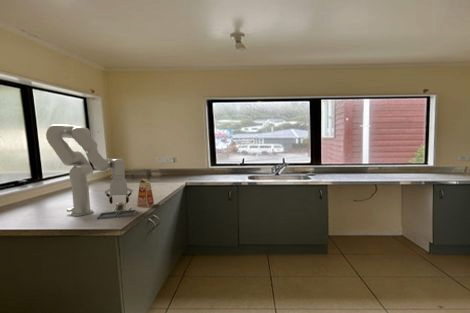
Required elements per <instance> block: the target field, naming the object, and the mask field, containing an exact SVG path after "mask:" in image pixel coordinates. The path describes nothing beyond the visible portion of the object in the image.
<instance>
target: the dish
mask: <svg viewBox="0 0 470 313" xmlns="http://www.w3.org/2000/svg"><path fill="white" fill-rule="evenodd" d="M127 210H131V206H130V205H129V206H126V210H121V211H127ZM110 212H116V207H114V208H113V209H112V210H111V211H110ZM119 212H120V211H119Z"/></svg>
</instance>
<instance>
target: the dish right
mask: <svg viewBox="0 0 470 313" xmlns="http://www.w3.org/2000/svg"><path fill="white" fill-rule="evenodd" d="M137 211H138V210H137V209H130V210H127V211H120V212H119V213H118V215H117V216H116V218H125V217H135V216H136V214H137Z"/></svg>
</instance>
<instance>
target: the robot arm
mask: <svg viewBox="0 0 470 313" xmlns="http://www.w3.org/2000/svg"><path fill="white" fill-rule="evenodd" d="M91 135H92V132H91V130H90V129H89V128H87V127H84V126H77V125H70V124H61V123H60V124H59V123H57V124H52V125H50V126H49V127H48V128H47V130H46V133H45V136H46V137H45V138H46V141H47V143H48V144H49V146H50V147H51V148H52V149H53V151H54V152H55V154H56V156H57V157H58V158H59V159H60V161H61V163H62V164H63V165H65V166H66V167H67V166H68V167H71V166H73V167H72V168H70V170H69V172H68V175H69V176H68V177H69V181H70V184H71V191H72V192H71V194H72V204H73V206H72V207H69V208H66V212H67V213H68V212H69V213H70V212H71V213H70V215H71V216H73V217H80V216H87V215H90V214H92V213H94V209H93V208H91V201H90V199H91V198H90V187H89V182H88V179H87V178H90V177H91V176H92V175H93V173H94V169H93V166H94V168H96V169H97V171H99V172H105V171H109V170H111V173H112V174H111V175H110V176H109V179H111V180H110V184H109V186H110V187H109V189H106V190H105V191H104V194H105V195H106V197H107V198H108V199H109V200H108V201H109V203H110V205H112V204H113V201H114V200H113V196H125V202H126V204H128V203H129V202H130V196H131V195H132V193H133V191H134V190H133V189H132V188H130V187H128V182H127V179H126V178H125V177H126V174H125V160H124V158H103V156H102V155H101V154H100V153H99V151H98V144H97V142H96V141H95V140H94V139H93V138H92V136H91ZM65 138H67V139H74V141H75V142H76V143H77V144H78V145H79V146H80V148H81V149H82V150H83V151H84V152H85V155H86V156H87V157H85V155H84V154H83V153H82V152H81V151H79V150H73V149H72V148H71V147H70V145H69V144H68V143H67V141H65V140H64V139H65ZM91 164H92V165H91ZM128 191H129V193H128Z"/></svg>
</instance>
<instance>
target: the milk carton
mask: <svg viewBox="0 0 470 313" xmlns="http://www.w3.org/2000/svg"><path fill="white" fill-rule="evenodd" d="M137 194H138V195H137V203H136V207H144V208H147V207H148V208H149V207H151V206H153V205H155V201H154V195H153V189H152V186H151V182H150V181H148V179H147V178H141V181H140V182H139V185H138V192H137Z"/></svg>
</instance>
